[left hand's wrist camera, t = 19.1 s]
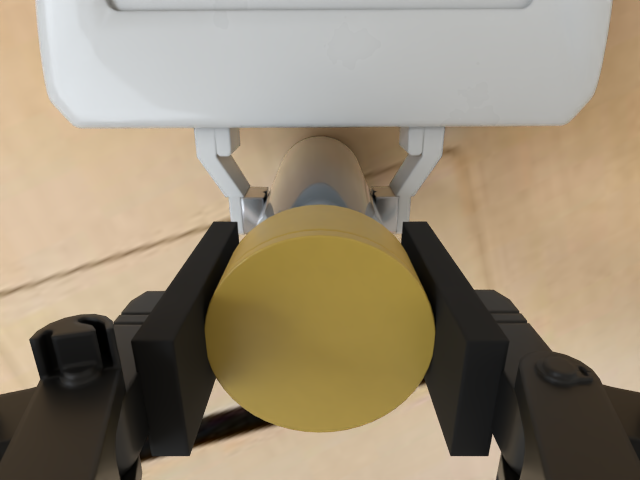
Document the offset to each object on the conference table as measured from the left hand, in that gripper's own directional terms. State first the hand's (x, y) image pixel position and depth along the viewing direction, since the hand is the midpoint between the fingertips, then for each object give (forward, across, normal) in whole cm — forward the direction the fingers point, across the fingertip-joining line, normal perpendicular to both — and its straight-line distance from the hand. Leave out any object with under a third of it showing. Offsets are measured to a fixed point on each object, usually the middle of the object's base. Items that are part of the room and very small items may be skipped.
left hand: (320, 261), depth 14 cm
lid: (-4, 0, 0) cm, 4 cm away
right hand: (+5, 0, -1) cm, 5 cm away
